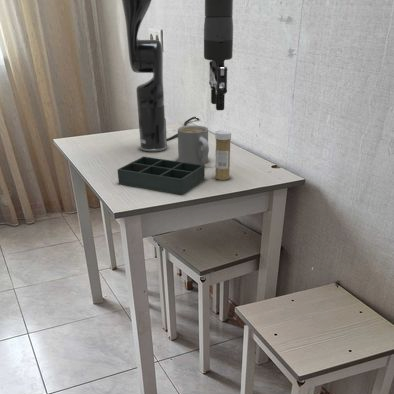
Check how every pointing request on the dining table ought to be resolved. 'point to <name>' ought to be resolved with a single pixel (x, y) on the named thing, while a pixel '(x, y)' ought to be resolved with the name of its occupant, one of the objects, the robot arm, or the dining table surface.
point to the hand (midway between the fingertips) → (217, 106)
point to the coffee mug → (193, 144)
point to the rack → (161, 175)
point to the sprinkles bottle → (222, 154)
